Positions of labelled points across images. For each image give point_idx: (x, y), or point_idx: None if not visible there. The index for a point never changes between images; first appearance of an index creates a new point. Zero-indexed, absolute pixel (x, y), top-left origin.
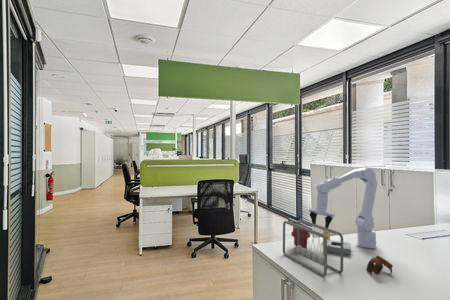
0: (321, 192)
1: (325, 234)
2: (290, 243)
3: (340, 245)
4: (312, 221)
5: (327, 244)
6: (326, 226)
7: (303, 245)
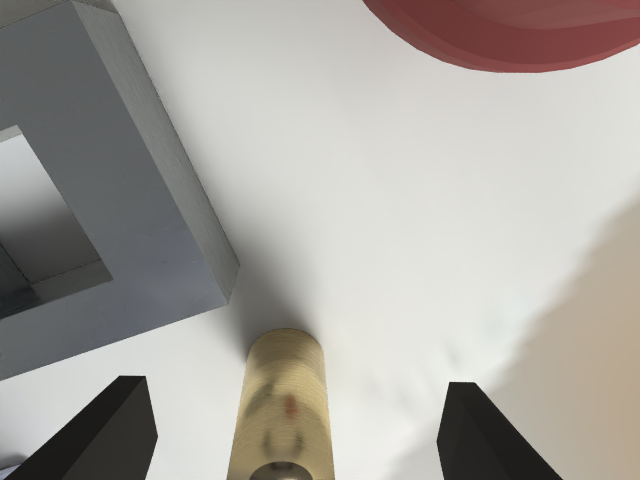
0: None
1: (273, 408)
2: None
3: (30, 297)
4: (538, 473)
5: (64, 108)
6: (61, 430)
7: None
